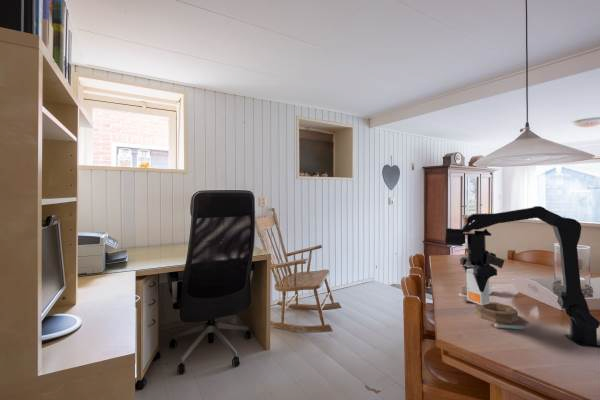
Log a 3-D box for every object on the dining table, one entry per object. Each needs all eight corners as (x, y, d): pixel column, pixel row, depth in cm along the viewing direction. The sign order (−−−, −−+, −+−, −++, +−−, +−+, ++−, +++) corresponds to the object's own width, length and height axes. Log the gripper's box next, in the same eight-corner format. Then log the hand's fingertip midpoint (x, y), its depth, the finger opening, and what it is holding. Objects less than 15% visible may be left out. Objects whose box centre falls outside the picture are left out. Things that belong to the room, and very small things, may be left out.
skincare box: (466, 300, 107) (465, 269, 107) (474, 298, 108) (473, 267, 109) (481, 305, 101) (480, 272, 101) (490, 304, 103) (489, 271, 103)
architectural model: (478, 305, 124) (477, 288, 124) (460, 303, 126) (459, 287, 126) (476, 303, 127) (476, 286, 127) (459, 301, 129) (458, 285, 130)
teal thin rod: (521, 328, 100) (521, 324, 100) (524, 330, 98) (523, 326, 98) (493, 326, 102) (493, 322, 102) (495, 328, 100) (495, 324, 100)
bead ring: (522, 324, 103) (522, 314, 103) (484, 321, 106) (484, 312, 106) (506, 311, 115) (506, 302, 115) (472, 309, 118) (472, 301, 118)
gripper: (513, 251, 94) (515, 298, 94) (489, 243, 112) (491, 282, 112) (477, 251, 97) (478, 296, 97) (459, 243, 115) (460, 281, 115)
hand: (477, 288), depth 105 cm, fingers closed on skincare box, 7 cm apart
